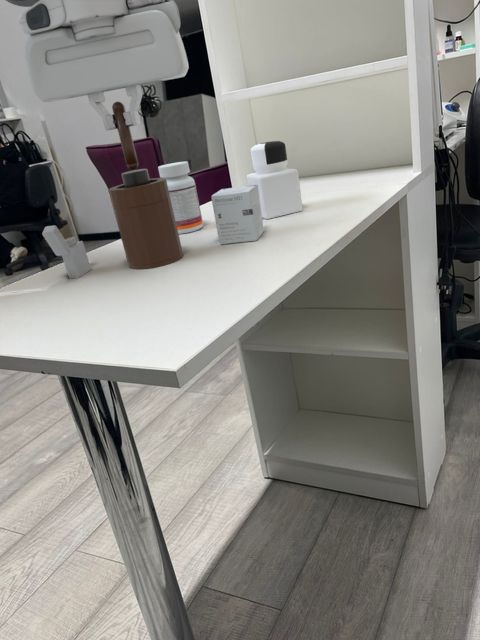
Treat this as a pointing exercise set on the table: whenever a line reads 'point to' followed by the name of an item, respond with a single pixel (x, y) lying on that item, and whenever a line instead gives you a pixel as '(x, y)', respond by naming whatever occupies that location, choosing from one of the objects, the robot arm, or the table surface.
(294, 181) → the white security camera
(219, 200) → the white cardboard box
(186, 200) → the pill bottle
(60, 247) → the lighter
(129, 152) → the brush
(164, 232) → the wooden pen holder
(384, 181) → the table surface
